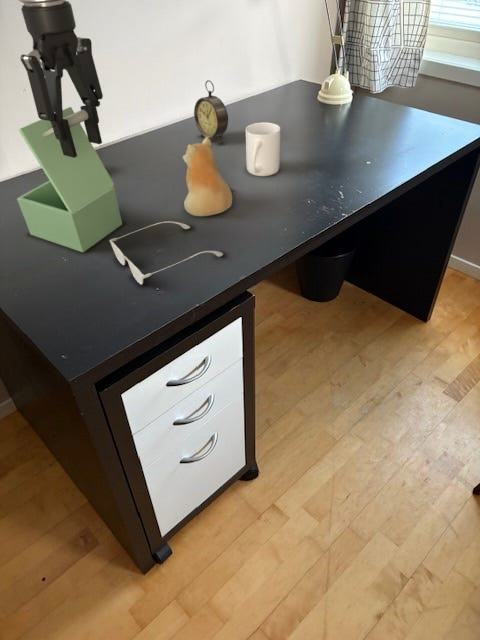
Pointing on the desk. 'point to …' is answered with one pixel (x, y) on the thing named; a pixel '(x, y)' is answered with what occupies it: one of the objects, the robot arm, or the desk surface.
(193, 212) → the figurine
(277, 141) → the mug
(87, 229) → the green rectangular box
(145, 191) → the desk surface
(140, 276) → the eyeglasses
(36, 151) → the green box lid
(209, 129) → the alarm clock
